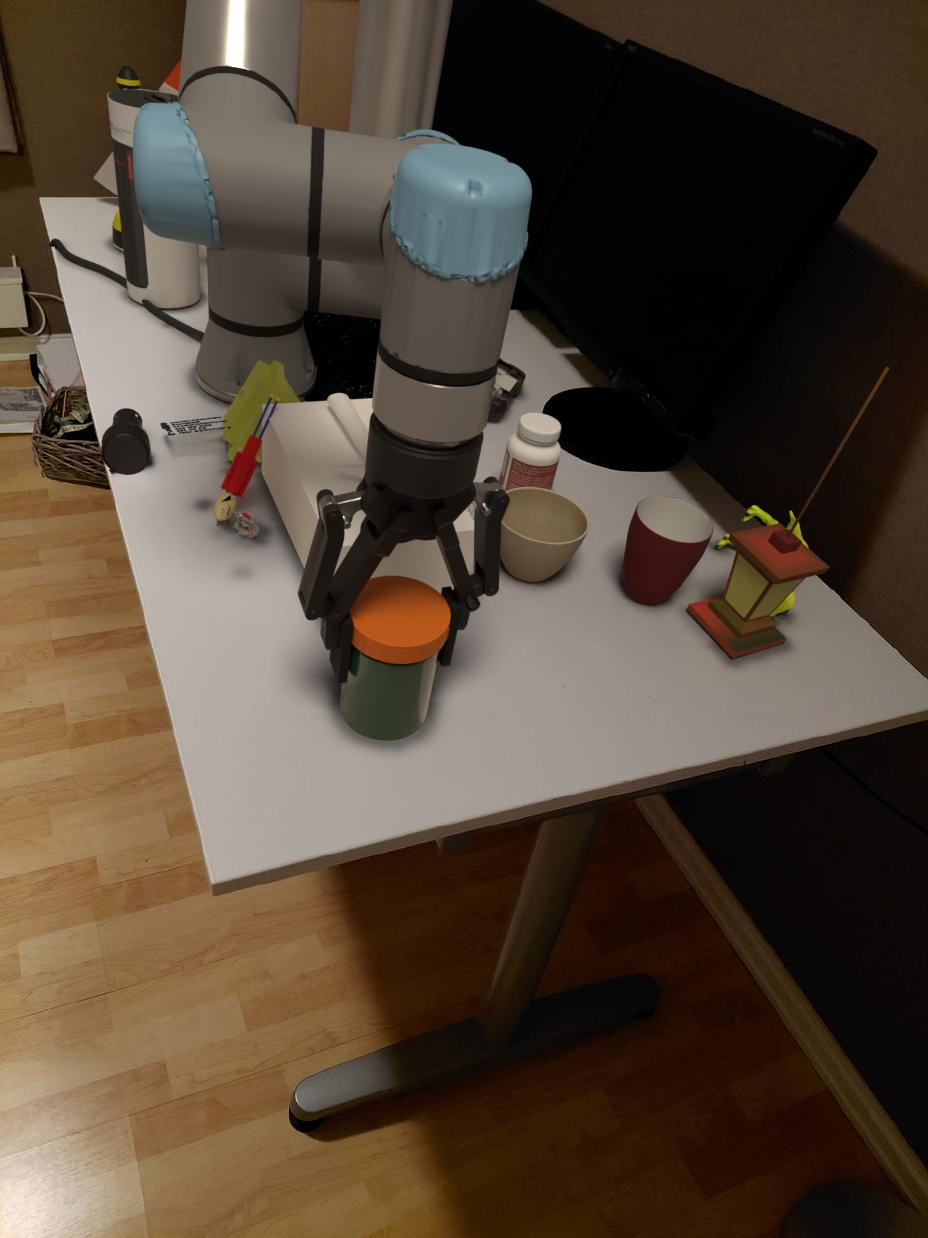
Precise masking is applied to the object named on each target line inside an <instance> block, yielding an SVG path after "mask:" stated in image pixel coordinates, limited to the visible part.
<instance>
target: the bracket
mask: <svg viewBox="0 0 928 1238" xmlns="http://www.w3.org/2000/svg"><path fill="white" fill-rule="evenodd" d="M270 393H271V394H273V395H275V397H279V398H280V399H281V400H280V401H278V403H277V404H281V403H299V402H301V401H299V399H298V398H297V396H296V394H295V393H294V391H293V390H292V388H291V386H290V385H289V383H288V382H287V380H286V378H285V375H284V366H283V364H281V363H280V362H278V361H276V360H274V361H273V362H272V363H271V364H270V365H268V364H266V363H264V362H263V361H261V360H258V362H257V364H256V365H255V367H254V368H253V370H252V372H251V373H250V375H249V377H248V378H247V380H246V381H245V383H244V385H243V386H242V388H241V390H240V391H239V393H238V395H237V396H236V398H235V399H234V401H233V403H230V406H229V407H228V409H227V411H226V412H225V414H224V416H223V417H222V420H225V421H226V420H227V421H226V422H225V421H224V422H222V427H225V429H222V440H223V441H225V442H227V450H228V451H227V452H228V453H227V456H228V461H230V462H231V463H232V462H233V460H234V457H235V455H236V453H237V448H238V447H242V448H243V449H244V447H245V445H246V443H247V441H248V439H249V436H250V435H251V436H252V435H253V433H254V431H255V429H256V426H257V424H258V422H259V420H260V418H261V416H262V405H264V404H267V402H268V400H269V398H270V396H269V394H270ZM275 397H274V398H272V400H271V402H270V404H274V403H275V401H276V399H275ZM228 426H230V427H231V428H227V427H228ZM261 432H262V422H261V424H260V426H259V429H258V431H257V433H256V435H255V437H257V438H259V436H260V434H261ZM261 440H262V438H261ZM256 456H260V458H261V460H260V461H259V462H258V464H262V444H261V446H260V448H259V450H258V453H257V455H256Z"/></svg>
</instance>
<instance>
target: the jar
mask: <svg viewBox="0 0 928 1238" xmlns="http://www.w3.org/2000/svg"><path fill="white" fill-rule="evenodd" d="M439 652H440V650H439ZM439 652H438V653H436V654H435V655H433V656H431V657H430V658H428V659H426V660H423V661H420V662H416V663H409V664H394V663H387V662H383V661H379V660H376V659H374V658H371V657H369V656H367V655H365V654H364V653H362V652H361V651H360V650H358V649H357V648H356V647H355V646H354V645H353V644H351V653H350V662H349V671H348V680H347V683H341V684H340V697H339V710H340V713H341V716H342V717H343V719H344V721H345V722H346V724H347V725H348V726H349V727H350V728H351V729H352V730H354V731H355V732H356V733H359V734H361V735H362V736H365V737H367V738H370V739H374V740H382V741H391V740H397V739H398V740H399V739H403V738H405V737H407V736H409V735H410V736H411V734H413V733H414V732H416V731H417V730H418V729H419V728H421V726H422V725H423V724H424V722H425V721H426V717H427V713H428V709H429V704H430V700H431V694H432V690H433V686H434V685H433V684H434V680H435V676H436V670H437V666H438V663H439V661H438V657H439Z"/></svg>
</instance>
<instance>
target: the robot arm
mask: <svg viewBox="0 0 928 1238" xmlns="http://www.w3.org/2000/svg"><path fill="white" fill-rule="evenodd" d="M303 1H304V0H186V4H185V5H186V6H185V15H184V16H185V17H184V28H183V38H182V50H181V58H180V60H181V70H180V81H179V93H178V102H169V103H168V104H165V103H147V104H145V105H143V106H142V107H141V109H140V112H139V113H138V115H137V117H136V118H135V123H134V133H133V172H134V184H135V193H136V199H137V204H138V209H139V213H140V216H141V219H142V221H143V222H144V224H145V226H146V227H147V228H148V229H149V230H150V231H151V232H152V233H153V234H155V235H157V236H159V237H163V238H168V239H172V240H177V241H182V242H187V243H192V244H197V245H198V246H204V247H206V271H207V272H206V273H207V303H208V304H207V305H208V306H207V307H208V320H207V324H206V326H205V330H204V331H201V330H200V329H197V328H194V327H192V326H190V325H188V324H186V323H184V322H182V321H181V320H179V319H177V318H175V317H173V316H171V315H170V314H168V313H167V312H165V311H163V309H159V308H157V307H156V306H155V305H153V304H152V303H151V302H150V301H148V300H146V299H143V300H142V303H143V304H144V305H143V306H144V307H145V308H146V309H148V310H149V311H150V312H151V313H152V314H154V315H155V316H156V317H158V318H160V319H161V320H163V321H164V322H167V323H168V324H169V325H172V326H173V327H175V328H177V329H179V330H180V331H183V332H184V333H187V334H189V335H190V336H191V335H192V336H193V337H196V338H198V339H200V340H201V343H200V346H199V349H198V353H197V355H196V358H195V359H196V360H195V378H196V381H197V384H198V385H199V387H200V388H201V389H202V390H203V391H205V392H206V393H207V394H209V395H210V396H212V397H214V398H216V399H218V400H220V401H223V402H224V403H225V402H226V403H228V404H232V403H233V401H234V399H235V398H236V396H237V395H238V393H239V391H240V390H241V388H242V386H243V385H244V383H245V381H246V380H247V378H248V377H249V375H250V373H251V372H252V370H253V368H254V367H255V365H256V364H257V362H258V360H261V361H263V362H264V363H266V364H268V365H270V364H271V363H272V362H273V361H274V360H276V361H278V362H280V363H281V364H283V366H284V375H285V378H286V380H287V382H288V383H289V385H290V386H291V388H292V390H293V391H294V393H295V394H296V396H297V398H298V399H299V401H300V402H303V401H304V400H306V399H307V398H309V396H310V395H311V394H312V393H313V392H314V390H315V388H316V380H317V379H316V378H317V371H318V365H316V366H315V362H314V358H313V355H312V351H311V348H310V344H309V340H308V338H307V333H306V330H305V312H315V313H323V314H332V315H341V316H349V317H357V318H368V319H376V320H379V321H380V328H379V329H380V331H379V334H378V335H379V336H378V341H377V352H376V360H375V361H376V362H375V372H374V379H373V388H372V389H373V391H372V409H373V412H372V414H371V417H370V423H369V432H368V442H367V452H366V463H365V474H364V477H363V479H362V480H361V482H360V483H359V485H358V486H357V489H356V491H354V492H349V493H345V494H340V495H335V496H334V494H333V492H332V491H331V490H329V489H323V490H321V491H319V492H318V494H317V496H316V500H317V507H318V514H319V519H318V523H317V526H316V530H315V533H314V537H313V540H312V544H311V547H310V551H309V555H308V558H307V562H306V565H305V569H304V568H303V573H302V577H301V579H300V584H299V587H298V591H297V597H298V600H299V603H300V606H301V609H302V612H303V614H304V617H305V619H307V621H316V620H318V619H319V618H320V628H319V629H320V630H319V634H320V637H321V641H322V643H323V645H324V648H325V649H326V651H329V659H328V660H329V663H330V666H331V668H332V672H333V674H334V676H335V679H336V681H337V685H341V684H342V683H347V680H348V671H349V662H350V653H351V644H352V635H353V626H354V623H353V620H352V618H351V615H350V613H349V610H350V609H351V607H352V606H353V604H354V603H355V601H356V599H357V598H358V596H359V595H360V593H361V592H362V590H363V589H364V587H365V585H366V584H367V582H368V581H369V579H370V578H371V576H372V575H373V573H374V571H375V570H376V568H377V567H378V565H379V564H380V562H381V561H382V559H383V558H384V557H389V556H390V554H391V553H392V551H393V550H394V548H395V547H396V545H397V544H398V543H406V542H409V541H412V540H424V541H428V540H435V538H436V540H437V543H438V546H439V548H440V551H441V554H442V557H443V559H444V562H445V565H446V568H447V570H448V573H449V576H450V579H451V581H452V584H453V586H454V589H453V590H452V588H451V586H448V587H442V590H441V595H442V596H443V597H444V599H445V600H446V602H447V604H448V606H449V608H450V613H451V619H450V624H449V633H448V638H447V641H445V643H444V645H443V647H442V648H441V649H440V652H439V657H438V663H439V665H440V667H441V668H443V667H450V666H451V664H452V663H451V662H452V658H453V653H454V649H455V644H456V639H457V635H458V632H459V631H463V630H466V628H467V626H468V624H469V620H470V615H471V613H472V612H476V611H477V610H479V609H480V607H481V601H480V600H479V597H481V596H483V595H485V596H486V597H493V596H496V595H497V594H498V593H499V590H500V577H501V576H500V575H501V574H500V573H501V556H500V550H501V524H502V519H503V517H504V515H505V512H506V510H507V507H508V505H509V503H510V498H509V496H508V495H507V493H506V492H505V490H504V489H503V487H502V486H501V484H500V483H499V479H497V477H496V476H488V477H486V478H484V480H483V481H482V482H479V481H475V479H476V476H477V471H478V468H479V462H480V457H481V452H482V448H483V447H482V446H483V442H484V438H485V437H484V430H485V428H487V426H488V419H489V415H490V412H489V410H490V405H491V400H492V395H493V390H494V385H495V380H496V375H497V370H498V363H499V359H500V358H501V355H502V349H503V345H504V340H505V335H506V330H507V326H508V322H509V317H510V313H511V308H512V303H513V297H514V294H515V289H516V284H517V279H518V275H519V270H520V265H521V261H522V260H523V257H524V254H525V251H527V247H528V242H529V241H528V240H529V233H528V232H529V231H528V223H529V217H530V216H529V215H530V209H531V203H532V197H533V188H532V187H533V186H532V183H531V180H530V177H529V176H528V174H527V173H526V171H524V169H523V168H522V167H520V166H519V165H517V164H516V163H513V162H510V161H509V160H508V159H507V158H506V157H503V156H501V155H499V154H496V153H493V152H491V151H487V150H484V149H481V148H477V147H476V148H475V147H472V146H467V145H462V144H460V142H458V141H457V140H455V138H453V137H451V136H449V135H448V134H446V133H443V132H440V131H437V130H435V129H432V128H433V122H434V116H435V112H436V111H435V110H436V105H437V99H438V93H439V87H440V80H441V75H442V69H443V62H444V56H445V51H446V45H447V39H448V33H449V32H448V31H449V26H450V21H451V15H452V9H453V2H454V0H359V2H358V13H357V25H356V38H355V48H354V49H355V51H354V63H353V73H352V74H353V75H352V86H351V98H350V99H351V100H350V109H349V110H350V111H349V120H348V122H349V123H348V132H347V131H341V130H333V129H328V128H323V127H318V126H311V125H304V124H299V110H300V109H299V107H300V85H301V84H300V83H301V82H300V81H301V80H300V79H301V53H302V29H303V27H302V26H303ZM48 246H49V247H51V248H56V247H57V249H58V250H59V252H60V253H61V254H62V255H63V256H64V258H66V259H68V260H69V261H72V262H74V263H76V264H78V265H81V266H84V267H86V268H89V269H91V270H95V271H97V272H99V273H101V274H103V275H105V276H107V277H108V278H110V279H112V280H115V281H117V282H118V283H120V284H122V286H124V287H126V288H127V279H126V277H124V276H123V275H122V274H119V273H117V272H116V271H114V270H111V269H110V268H107V267H106V266H104V265H101V264H98V263H96V262H93V261H91V260H88V259H85V258H83V257H80V256H78V255H76V254H74V253H72V252H70V251H69V250H68V249H67V248H66V247H65V245H64V243H63V242H62V241H61V239H58V238H52V239H51V240H50V241H49V243H48ZM471 504H472V505H473V507H474V508H473V509H474V510H473V520H474V555H473V573H472V574H471V573H469V572H468V569H467V566H466V563H465V560H464V557H463V554H462V551H461V548H460V545H459V544H460V542H459V539H458V536H457V533H456V530H455V527H454V524H453V522H454V521H455V520H456V519H457V518H458V517H459V516H460V515H461V514H462V513H463V512H464V511H465V510H467V509H468V508H469V507H470V506H471ZM360 510H362V511H363V512H364V513H365V514H366V516H365V518H364V520H363V521H362V523H361V526H360V533H359V535H358V537H357V538H356V540H355V542H354V543H353V545H352V546H351V548H350V550H349V551H348V553H347V554H346V556H345V558H344V559H343V561H342V563H341V564H340V566H339V567H338V569H337V571H336V572H335V569H336V566H337V562H338V559H339V556H340V553H341V549H342V546H343V542H344V536H345V530H344V529H349V528H350V527H351V522H352V519H353V516H354V514H355V513H356V512H358V511H360ZM334 572H335V574H334ZM333 575H334V576H333Z"/></svg>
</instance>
